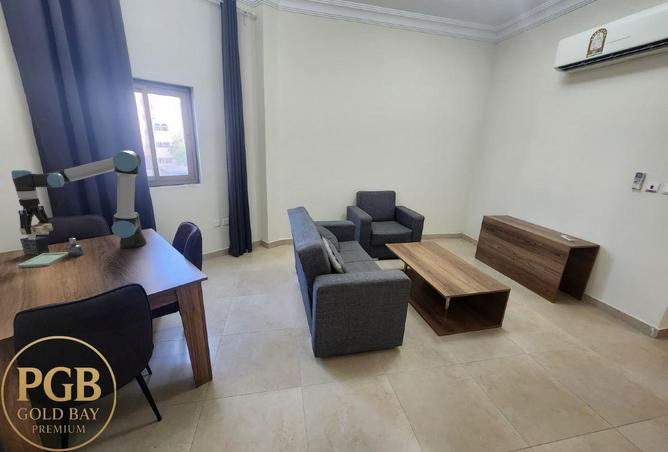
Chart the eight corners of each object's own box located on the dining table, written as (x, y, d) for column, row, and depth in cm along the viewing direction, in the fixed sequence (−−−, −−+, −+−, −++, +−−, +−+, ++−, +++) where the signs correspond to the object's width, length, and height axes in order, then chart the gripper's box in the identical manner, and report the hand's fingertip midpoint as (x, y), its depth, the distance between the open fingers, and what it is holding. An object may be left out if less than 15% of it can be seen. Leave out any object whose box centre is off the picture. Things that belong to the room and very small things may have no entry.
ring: (34, 230, 158) (33, 223, 157) (53, 230, 160) (51, 223, 159) (21, 235, 149) (19, 228, 148) (41, 234, 151) (39, 227, 150)
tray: (70, 254, 169) (70, 251, 169) (48, 265, 152) (48, 263, 152) (44, 255, 166) (43, 253, 166) (18, 267, 149) (17, 265, 149)
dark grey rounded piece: (86, 252, 172) (82, 236, 169) (79, 256, 166) (74, 240, 163) (73, 253, 171) (69, 236, 168) (65, 257, 164) (61, 240, 161)
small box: (50, 252, 171) (46, 236, 169) (39, 256, 165) (34, 240, 162) (36, 251, 172) (31, 235, 169) (23, 255, 166) (19, 239, 163)
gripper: (36, 195, 159) (46, 231, 165) (1, 201, 138) (14, 243, 144) (51, 195, 160) (60, 231, 166) (19, 201, 140) (31, 242, 146)
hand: (39, 236), depth 155 cm, fingers closed on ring, 9 cm apart
